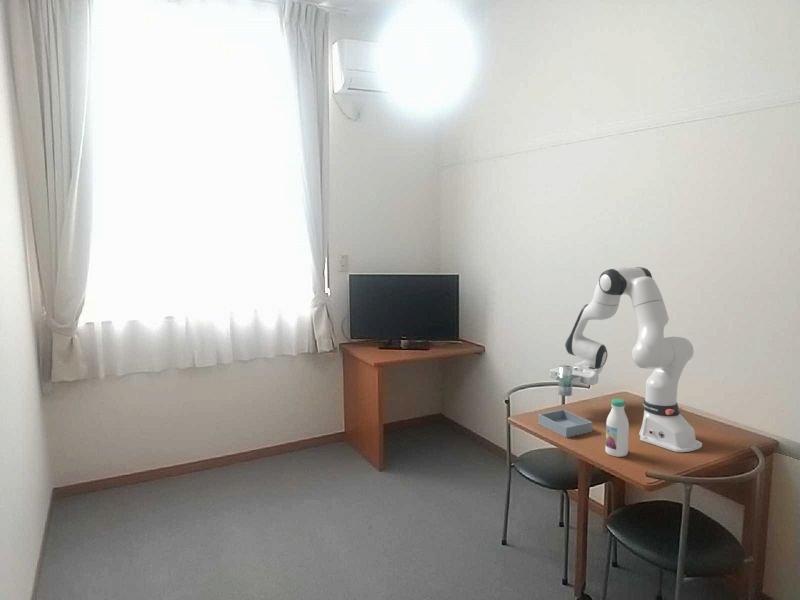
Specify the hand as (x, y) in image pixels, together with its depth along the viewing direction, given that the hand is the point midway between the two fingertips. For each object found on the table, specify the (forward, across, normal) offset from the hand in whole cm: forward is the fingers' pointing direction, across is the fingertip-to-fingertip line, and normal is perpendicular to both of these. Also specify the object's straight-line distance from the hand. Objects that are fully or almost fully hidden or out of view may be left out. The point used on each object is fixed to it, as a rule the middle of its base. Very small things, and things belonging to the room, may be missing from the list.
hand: (564, 379), depth 238 cm
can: (-1, 0, +6) cm, 7 cm away
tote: (+11, +6, +17) cm, 21 cm away
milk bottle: (+21, +32, +17) cm, 42 cm away
